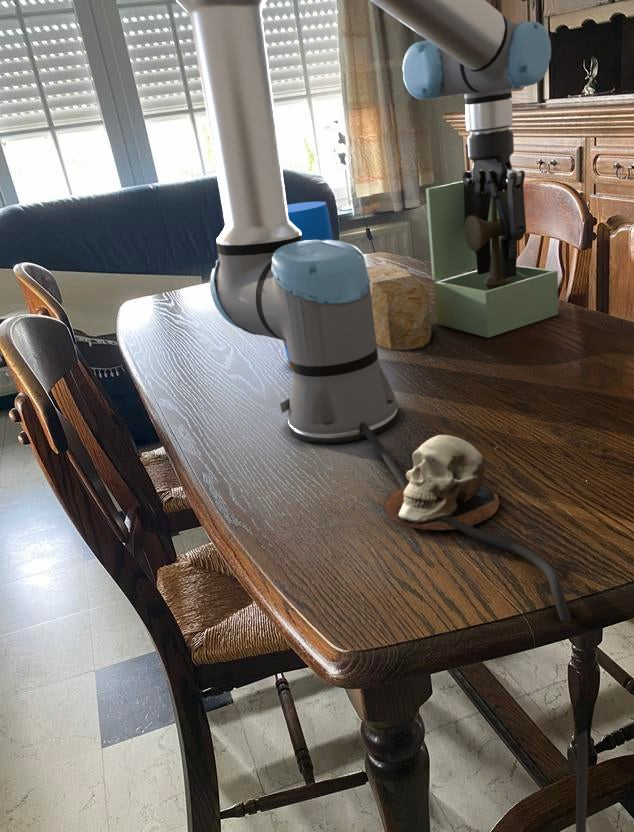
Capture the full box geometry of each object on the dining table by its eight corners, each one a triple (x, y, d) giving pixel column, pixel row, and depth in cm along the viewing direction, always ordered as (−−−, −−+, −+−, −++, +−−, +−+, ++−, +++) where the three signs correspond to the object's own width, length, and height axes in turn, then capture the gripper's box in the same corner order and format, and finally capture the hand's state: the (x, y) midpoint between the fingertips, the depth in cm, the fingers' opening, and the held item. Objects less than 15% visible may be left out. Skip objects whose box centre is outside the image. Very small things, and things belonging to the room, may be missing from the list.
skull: (443, 544, 71) (387, 453, 72) (402, 573, 80) (353, 491, 81) (530, 493, 76) (477, 410, 78) (483, 525, 85) (436, 450, 87)
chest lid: (502, 173, 135) (480, 172, 140) (428, 189, 128) (408, 187, 132) (504, 260, 143) (483, 257, 147) (434, 280, 136) (415, 275, 140)
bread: (445, 341, 130) (441, 283, 125) (385, 354, 128) (378, 295, 123) (388, 300, 161) (382, 252, 156) (339, 309, 159) (332, 261, 154)
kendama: (467, 309, 138) (459, 193, 128) (512, 298, 140) (508, 184, 131) (483, 315, 133) (476, 195, 123) (530, 304, 135) (527, 185, 126)
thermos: (293, 377, 123) (263, 217, 111) (284, 359, 132) (255, 209, 120) (357, 364, 125) (334, 205, 113) (343, 347, 134) (320, 199, 122)
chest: (558, 314, 136) (557, 270, 132) (488, 338, 129) (485, 292, 125) (504, 303, 147) (502, 262, 143) (437, 324, 140) (433, 282, 136)
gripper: (548, 125, 117) (549, 276, 128) (471, 130, 131) (478, 264, 143) (511, 132, 114) (517, 286, 125) (436, 136, 128) (447, 273, 139)
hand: (496, 274), depth 134 cm, fingers closed on kendama, 6 cm apart
